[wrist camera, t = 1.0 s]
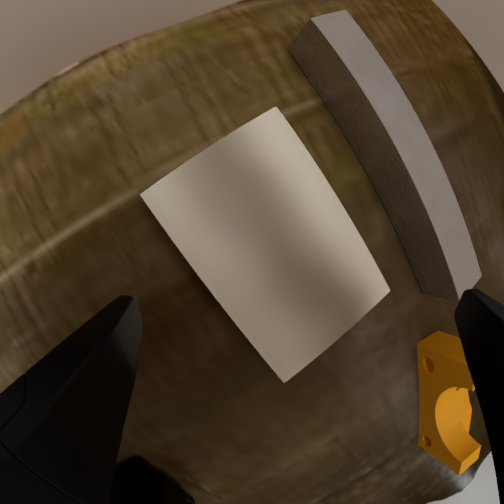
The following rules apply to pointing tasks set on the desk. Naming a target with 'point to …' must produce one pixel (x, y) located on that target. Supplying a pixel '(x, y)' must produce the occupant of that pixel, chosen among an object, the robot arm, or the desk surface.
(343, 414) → the desk surface
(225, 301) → the beige rectangular block
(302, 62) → the bar
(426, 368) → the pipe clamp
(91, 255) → the desk surface
